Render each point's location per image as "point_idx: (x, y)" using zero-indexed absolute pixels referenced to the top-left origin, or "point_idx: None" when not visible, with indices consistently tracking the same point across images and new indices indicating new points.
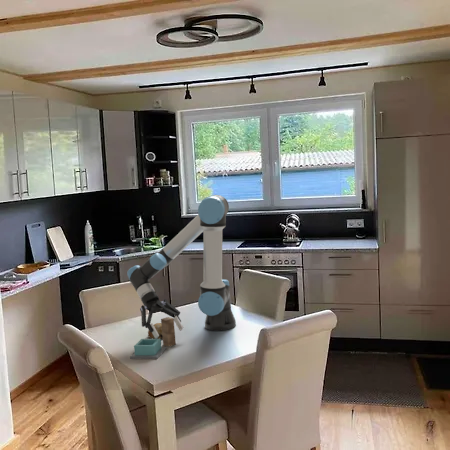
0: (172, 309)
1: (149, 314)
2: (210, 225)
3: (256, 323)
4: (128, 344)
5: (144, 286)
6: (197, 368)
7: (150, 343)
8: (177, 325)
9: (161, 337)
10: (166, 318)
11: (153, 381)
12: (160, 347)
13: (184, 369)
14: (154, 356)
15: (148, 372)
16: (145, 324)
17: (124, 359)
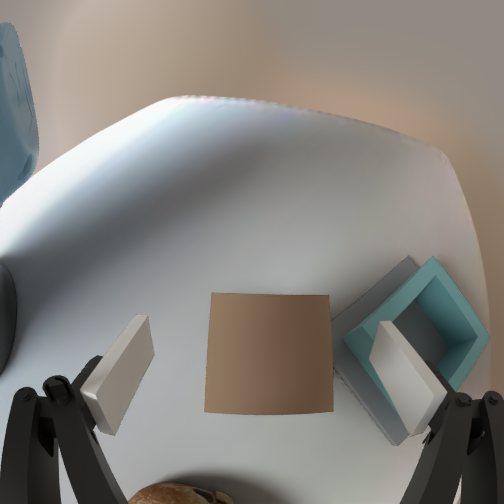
0: (36, 470)
1: (448, 502)
2: None
3: None
4: None
5: None
6: (334, 120)
7: None
8: (138, 378)
9: (210, 494)
10: (269, 372)
11: (446, 159)
12: (355, 327)
13: (365, 138)
14: (415, 266)
15: (450, 200)
16: (481, 399)
17: (481, 361)
